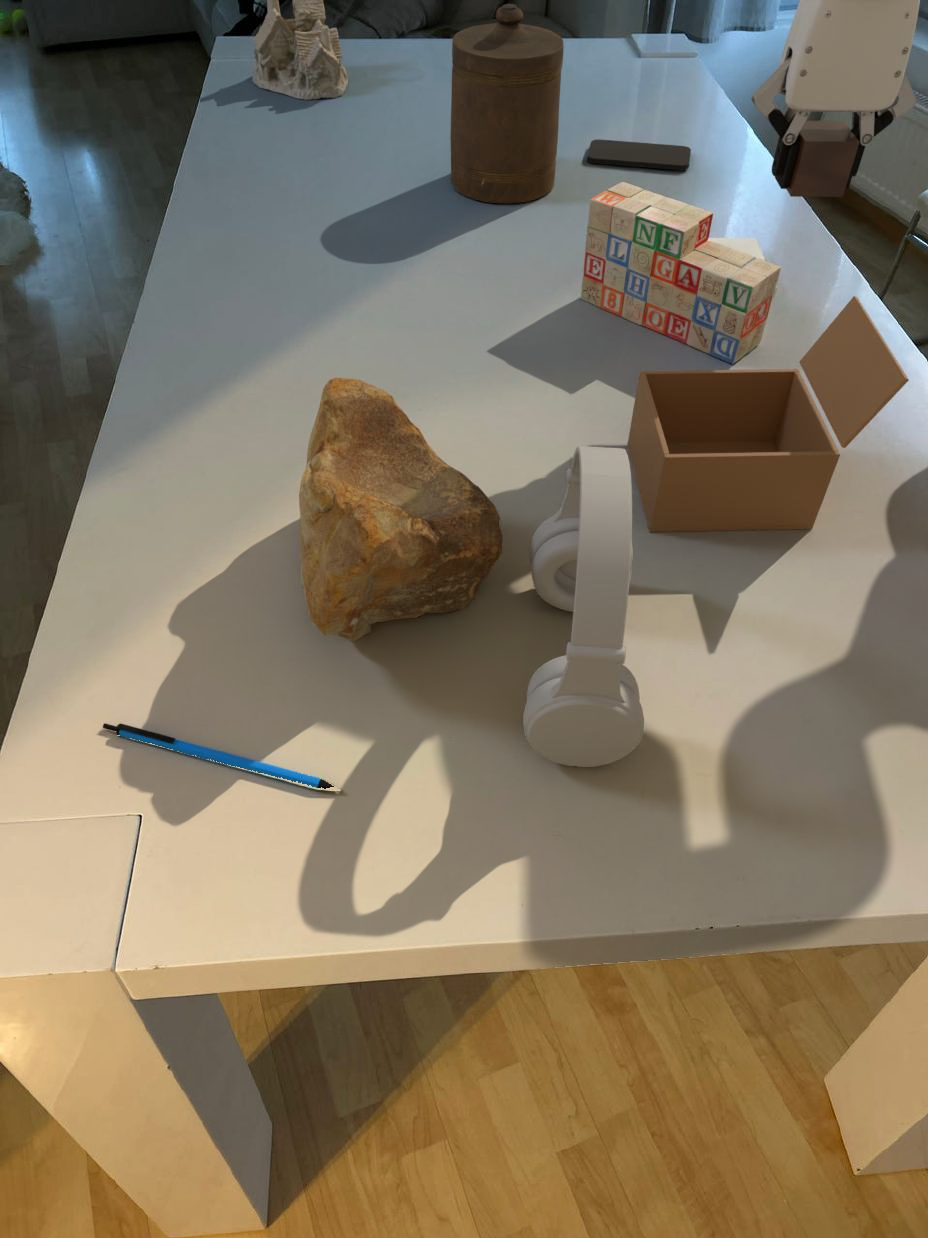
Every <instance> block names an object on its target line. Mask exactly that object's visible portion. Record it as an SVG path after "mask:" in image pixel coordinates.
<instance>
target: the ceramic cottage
mask: <svg viewBox="0 0 928 1238" xmlns="http://www.w3.org/2000/svg"><path fill="white" fill-rule="evenodd" d="M291 2H292V13H293V16H294V18H287V19H285V18H284V17H283V16H282V15H281V9H280V2H279V0H266V3H267V4H266V5H267V6H266V7H267V12H266V15H265V17H264V20H263V23H262V25H261V26H260V27H259V30H258V32H257V33H256V34H255V37H254V38H252V40H251V42H253V46H254V50H253V53H254V59H255V62H254V63H253V67H252V83H253V84H254V85H256V87H258V88H259V89H264V90H268V91H271V92H273V93H278V94H282V95H287V96H289V97H292V98H294V99H300V100H305V101H308V100H309V101H311V100H318V99H319V100H320V99H321V98H322V99H323V98H324V99H325V98H326V99H329V98H331V99H334V98H336V99H337V98H338V97H341V96H343V95H344V94H345V92H346V89H347V87H348V85H349V78H348V72H347V69H346V68H345V66H344V65H343V64H342V63H341V61H342V60H343V55H342V48H341V43H340V40H339V39H340V37H339V32H338V29H337V27H333V28H332V27H331V28H329V25H326V24H325V22H326V19H327V17H326V9H325V5H324V0H292V1H291Z"/></svg>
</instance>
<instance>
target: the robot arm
mask: <svg viewBox="0 0 928 1238" xmlns="http://www.w3.org/2000/svg"><path fill="white" fill-rule="evenodd" d="M920 4H921V0H799V2H798V4H797V8H796V10H795V13H794V16H793V19H792V21H791V24H790V28H789V31H788V34H787V37H786V40H785V43H784V46H783V50H782V53H781V56H780V60H779V63H778V67H777V69H776V70H775V71H774V72H773V73H772V74H771V75H770V76H769V77H768V78H767V79H766V80H765V81H764V82H763V83H762V84H761V85H760V86H759V88H757V90H756V91H754V92H753V94H751V95H752V96H751V101H752V104H753V105H754V107H755V108H756V109H757V111H758V112H760V113H761V114H762V116H763V117H764V118H765V119H766V120H767V121H768V122H769V123H770V125H771V126H772V129H774V131H775V132H776V134H777V135H778V136H779V138H778V140H777V143H776V149H775V151H774V156H773V159H772V164H771V174H772V176H773V177H774V179H775V180H776V183H777V184H778V186H779V188H780V189H781V190H787V188H788V187H789V186H790V183H791V179H792V175H793V171H794V167H795V164H796V160H797V156H798V152H799V145H798V144H797V139H798V135H799V134H800V132H801V130H802V128H803V126H804V124H805V122H806V121H808V119H809V117H810V116H811V113H813V112H816V113H817V112H819V113H851V128H850V130H851V131H852V133H853V134H854V135H855V137H856V138H857V139H858V141H859V145H858V149H857V152H856V155H855V158H854V162H853V165H852V168H851V171H850V175H849V178H848V181H847V184H846V188H845V190H849V188H850V186H851V182H852V179H853V177H856V176H857V174H858V171H859V168H860V165H861V161H862V159H863V156H864V152H865V149H866V147H867V146H870V144H872V142H873V141H874V138H875V137H876V136H877V135H878V134H880V133H881V132H882V131H883V130H885V129H887V127H889V126H890V125H891V124H892V123H893V121H894V120H896V119H898V118H900V117H901V116H903V115H904V114H906V113H907V112H909V111H910V110H912V109H914V107H915V106H916V104H917V98H916V95H915V93H914V91H913V87H912V86H911V83H910V81H909V78H908V75H907V74H906V69H907V67H908V62H909V58H910V54H911V50H912V47H913V42H914V38H915V33H916V27H917V23H918V17H919V10H920ZM778 95H783V96H784V97H785V98H784V102H785V105H786V107H785V109H784V111H783V112H782V111H781V109H780V107H779V106H778V105H777V104H776V103H775V98H776V97H777V96H778Z"/></svg>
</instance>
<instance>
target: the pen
mask: <svg viewBox="0 0 928 1238" xmlns="http://www.w3.org/2000/svg"><path fill="white" fill-rule="evenodd" d="M102 728H103V729H104V730H107V731H111V730H112V732H115V731H116V732H115V735H116V736H117V735H120V736H123V737H122V738H124V737H127V738H132V739H135V740H138V741H139V740H140V741H143V742H147V743H152V744H155V745H158V746H162V747H165V748H169V749H173V750H174V751H173V752H175V751H179V752H182V753H185V754H189V755H194V756H195V755H196V756H197V757H200V758H203V759H202V760H204V759H209V760H210V759H211V760H212V761H213V760H214V761H215V762H216V761H217V762H219V763H220V762H221V763H222V764H223V763H224V764H226V765H227V764H228V765H231V766H235V767H236V766H237V767H240V768H244V769H247V770H251V771H252V770H253V771H255V772H256V771H257V772H258V773H264V774H268V775H271V776H275V777H277V778H278V777H279V778H281V777H282V778H283V779H287V780H291V781H292V782H293V781H294V782H296V781H298V783H301V782H302V784H307V785H308V786H309V785H311V786H312V787H316V788H321V787H322V788H324V789H326V788H330V787H334V786H332V785H331V784H332V783H331V784H329V783H330V782H329V781H327V780H325V779H323V778H321V777H317V776H314V775H310V776H308V775H309V774H307V773H303V774H301V773H302V772H299V771H295V770H292V771H291V769H287V768H284V767H280V766H276V765H273V764H269V763H265V762H262V761H258V760H254V759H251V758H247V757H244V756H240V755H236V754H232V753H229V752H225V751H222V750H217V749H215V748H211V747H207V746H204V745H200V744H197V743H196V744H195V743H192V742H189V741H185V740H181V739H177V738H176V737H172V736H169V735H166V734H161V733H158V732H154V731H152V730H150V731H149V730H147V729H143V728H139V727H135V726H131V725H129V724H125V723H118V724H117V725H113V724H109V723H103V725H102ZM120 736H119V737H120ZM127 738H126V739H127ZM135 740H134V741H135ZM138 741H137V742H138ZM182 753H181V754H182ZM185 754H184V755H185ZM189 755H188V756H189ZM200 758H199V759H200ZM215 762H214V763H215ZM222 764H221V765H222ZM298 772H299V773H298ZM313 776H314V777H313ZM320 778H321V779H320ZM322 779H323V780H322ZM326 781H327V782H326ZM328 782H329V783H328Z"/></svg>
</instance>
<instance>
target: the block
mask: <svg viewBox="0 0 928 1238" xmlns="http://www.w3.org/2000/svg"><path fill="white" fill-rule="evenodd" d="M797 144H798V145H799V152H798V156H797V160H796V164H795V167H794V171H793V175H792V179H791V183H790V186H789V187H788V188H787V189H786V191H787V193H788V195H789V197H791V198H792V197H793V198H794V197H797V198H799V197H801V198H802V197H804V198H806V197H807V198H808V197H810V198H811V197H812V198H813V197H814V198H843V197H844V194H845V190H846V189H845V188H846V184H847V181H848V178H849V175H850V171H851V168H852V165H853V162H854V158H855V155H856V152H857V149H858V145H859V141H858V139H857V138H856V137H855V135H854V134H853V133H852V131H851V128H850V127H849V126H848V124H847V123H846V122H845V120H807V121H806V122H805V124H804V126H803V128H802V130H801V132H800V134H799V135H798V139H797Z"/></svg>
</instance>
